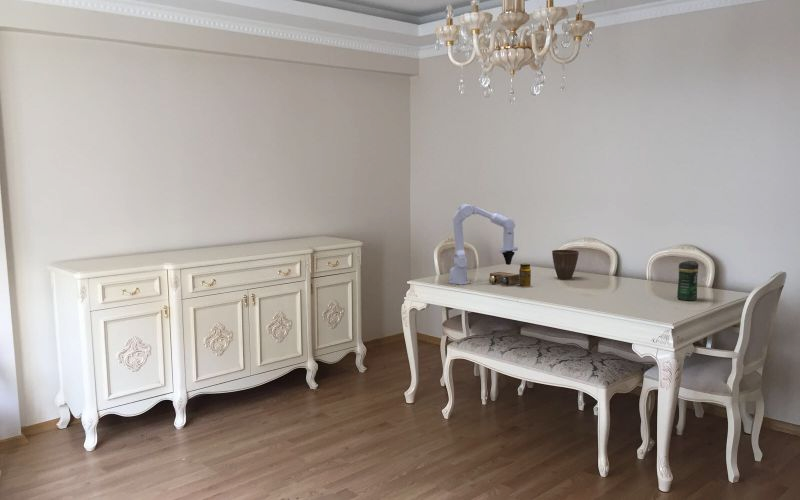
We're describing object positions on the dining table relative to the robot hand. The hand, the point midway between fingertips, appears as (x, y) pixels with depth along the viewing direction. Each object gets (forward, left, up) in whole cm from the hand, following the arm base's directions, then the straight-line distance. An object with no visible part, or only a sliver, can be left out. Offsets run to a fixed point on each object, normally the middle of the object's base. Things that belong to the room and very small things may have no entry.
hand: (508, 264), depth 373 cm
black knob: (+6, -8, -9) cm, 13 cm away
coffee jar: (+93, +17, -10) cm, 95 cm away
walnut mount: (+2, -6, -10) cm, 12 cm away
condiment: (+14, -5, -10) cm, 18 cm away
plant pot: (+17, +31, -10) cm, 37 cm away
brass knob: (-2, -8, -9) cm, 12 cm away
